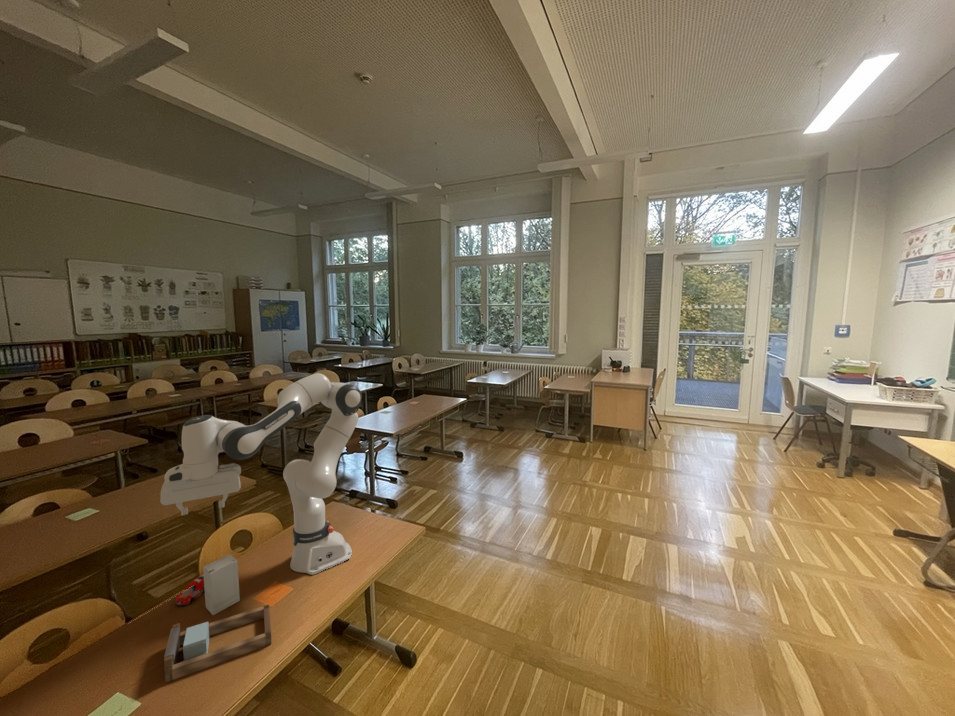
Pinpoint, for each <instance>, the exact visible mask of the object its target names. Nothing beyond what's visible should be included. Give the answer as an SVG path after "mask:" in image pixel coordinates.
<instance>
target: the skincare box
mask: <svg viewBox="0 0 955 716" xmlns="http://www.w3.org/2000/svg"><path fill="white" fill-rule="evenodd" d="M238 564H239V561H238V559H236V558H235V557H234V556H233V555H231V554H227V555H225V556H223V557H221V558H218V559H216V560H214V561H213V562H210V563H208V564H205V565H203V566H202V572H203V574H202V575H203V576H204V589H205V591H204V601H205V608H206V610H207V611H208V612H209V613H210V614H211V615H212V616H215V615H217V614H218V613H220V612H222V611H224V610H226V609H228V608H229V607H231V606H233V605H234V604H237V603H238V602H240V601H241V597H240V583H239V582H240V581H239V579H240V578H239V565H238Z"/></svg>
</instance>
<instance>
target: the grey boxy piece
mask: <svg viewBox="0 0 955 716" xmlns="http://www.w3.org/2000/svg"><path fill="white" fill-rule="evenodd" d="M185 631H186V635H185V640H184V645H182V651H183V661H186V660H189V659H192V658H195V657H197V656H200V655H203V654H206V653H209V646H210V636H209V621H206V622H202V623H199V624H196V625H192V626H189V627H186V630H185Z"/></svg>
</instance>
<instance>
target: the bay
mask: <svg viewBox="0 0 955 716" xmlns="http://www.w3.org/2000/svg"><path fill="white" fill-rule="evenodd" d="M270 612H271V611H270V604H266V605H263V606H260V607H257V608H253V609H249V610H247V611H242V612H241V613H238V614H234V615H231V616H229V617H225V618H222V619H219V620H215V621H212V622H210V623H209V622H208V623H209V637H211V636H214V635H217V634H221V633H223V632H226V631H229V630H233V629H235V628H239V627H242V626H244V625H247V624H251V623H254V622H256V621H259V620H262V619H263V623H264V633H261V634H258V635H255V636H252V637H249V638H246V639H244V640H241V641H238V642H236V643H232V644H229V645H226V646H224V647H220V648H218V649H215V650H213V651H212V650H211V651H210V652H209V651H208V653H206V654H203V655H200V656H197V657H195V658H192V659H189V660H186V661H184V660H183V661H180V662H177V661H178V657H179V651H180V649H181V646H183V645H184V640H185V635H186V630H184V631H181V624H180V622H178V623H175V624H173V625H172V628H171V629H170V632H169V636H168V641H167V643H166V648H165V651H164V656H163V662H164V664H163V665H164V683H165V684H166V683H168V682H171V681H174V680H177V679H179V678H183V677H186V676H188V675H190V674H193V673H196V672H199V671H202V670H204V669H207V668H210V667H212V666H213V667H214V665H215V666H216V665H218V664H220V663H224V662H227V661H229V660H232V659H235V658H237V657H240V656H243V655H246V654H248V653H250V652H251V653H252V652H254V651H257V650H260V649H262V648H265V647H268V646H270V645H272V628H271V613H270Z"/></svg>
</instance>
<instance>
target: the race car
mask: <svg viewBox="0 0 955 716" xmlns="http://www.w3.org/2000/svg"><path fill="white" fill-rule="evenodd" d="M193 585H194V586H193ZM191 586H193V587H191ZM189 587H191V588H189ZM188 588H189V589H188ZM183 589H184V590H186V589H188V590H187V591H185V592H183V591H184V590H183V591H182V592H183V593H182V592H180V593H179V594H178V596H176V598H175V605H176V606H180V607H182V606H183V607H184V606H187V605H191V604H193V602H195V600H196V599H197V598H199V597H200V596H201V595H202V594H203V593H205V589H204V576H203V574H202V575H199V576H198V577H196V578H195V579H193V580H192V581H190V583H189V584H188V585H186V586H185V587H183Z"/></svg>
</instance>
